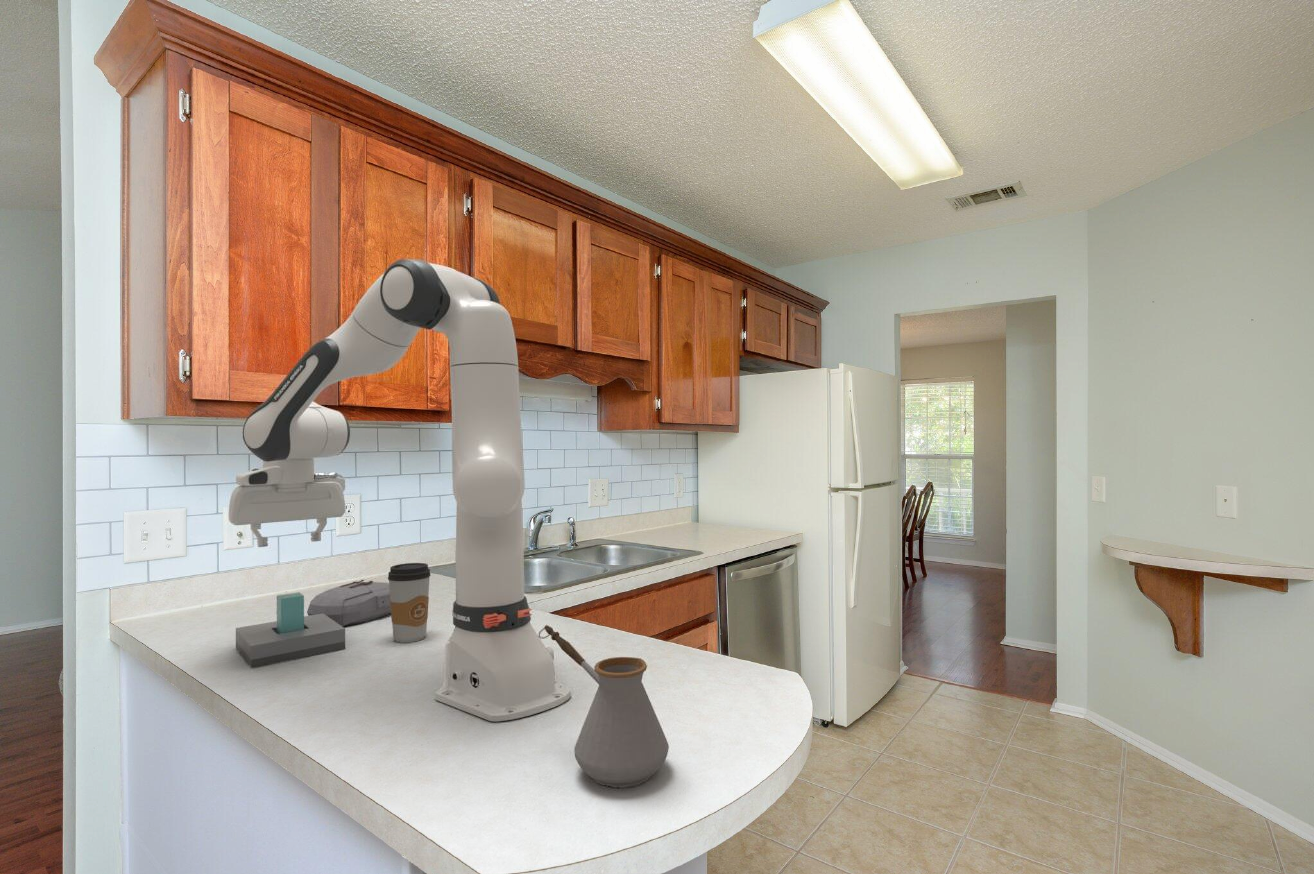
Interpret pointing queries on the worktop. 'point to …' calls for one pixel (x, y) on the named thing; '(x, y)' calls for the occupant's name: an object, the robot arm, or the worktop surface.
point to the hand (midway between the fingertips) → (289, 543)
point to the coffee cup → (409, 601)
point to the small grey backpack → (353, 602)
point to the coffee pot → (618, 723)
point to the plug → (290, 612)
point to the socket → (289, 641)
